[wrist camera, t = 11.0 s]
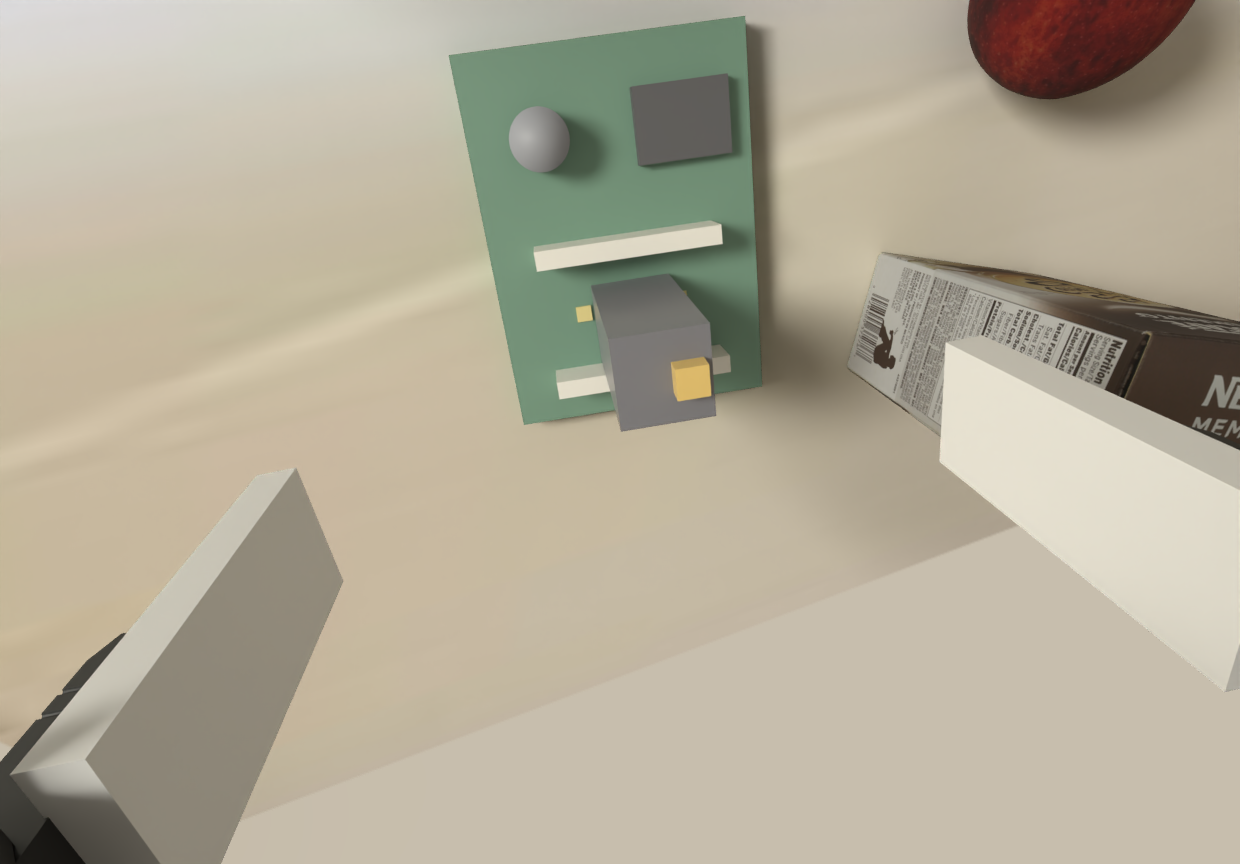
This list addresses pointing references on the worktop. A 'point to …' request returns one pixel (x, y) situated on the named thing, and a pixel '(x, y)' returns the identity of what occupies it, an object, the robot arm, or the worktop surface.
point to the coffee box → (1045, 339)
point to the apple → (1066, 40)
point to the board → (613, 195)
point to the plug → (654, 352)
